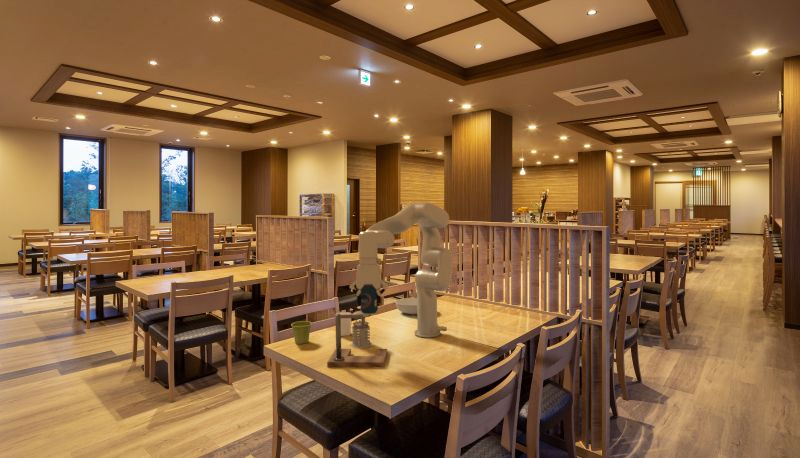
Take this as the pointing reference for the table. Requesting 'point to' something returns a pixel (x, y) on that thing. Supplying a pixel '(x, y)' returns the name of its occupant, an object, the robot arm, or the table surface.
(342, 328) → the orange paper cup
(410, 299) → the serving bowl
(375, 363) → the u-shaped wooden block
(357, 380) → the table surface
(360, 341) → the french press
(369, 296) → the soda can
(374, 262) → the robot arm
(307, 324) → the plant pot
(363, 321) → the knobbed metal rod
